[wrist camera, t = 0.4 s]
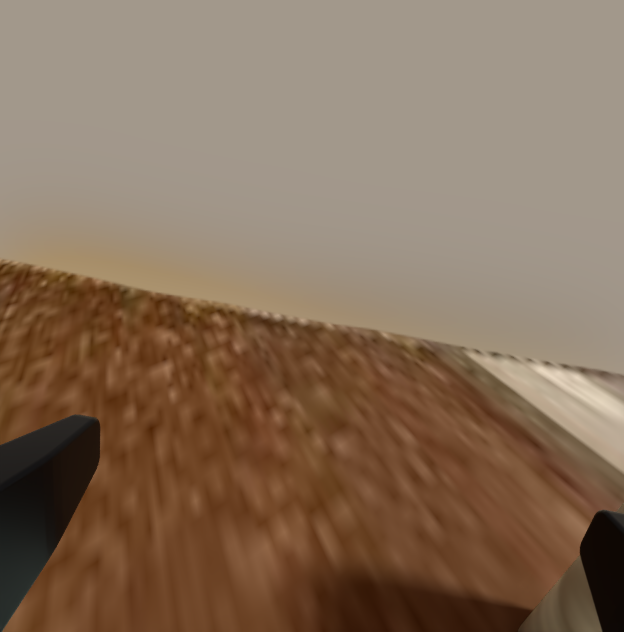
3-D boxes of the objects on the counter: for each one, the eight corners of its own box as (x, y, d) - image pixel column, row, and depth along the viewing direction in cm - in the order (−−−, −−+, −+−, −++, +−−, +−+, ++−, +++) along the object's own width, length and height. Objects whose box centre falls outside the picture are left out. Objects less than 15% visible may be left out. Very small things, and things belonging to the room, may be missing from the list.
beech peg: (640, 727, 21) (809, 616, 15) (542, 731, 20) (681, 617, 14) (584, 614, 24) (703, 491, 19) (500, 613, 24) (598, 487, 18)
